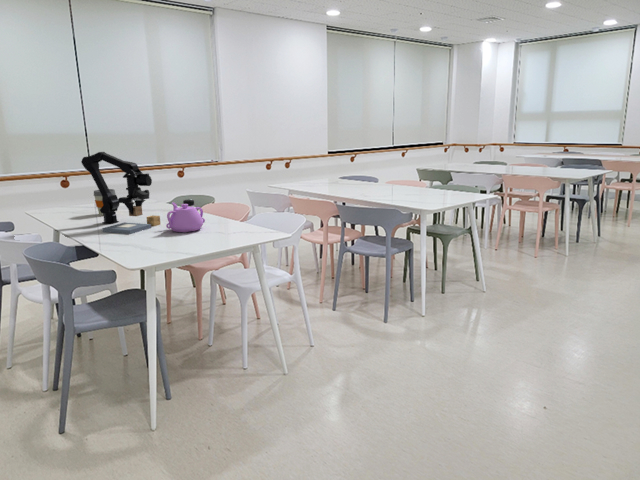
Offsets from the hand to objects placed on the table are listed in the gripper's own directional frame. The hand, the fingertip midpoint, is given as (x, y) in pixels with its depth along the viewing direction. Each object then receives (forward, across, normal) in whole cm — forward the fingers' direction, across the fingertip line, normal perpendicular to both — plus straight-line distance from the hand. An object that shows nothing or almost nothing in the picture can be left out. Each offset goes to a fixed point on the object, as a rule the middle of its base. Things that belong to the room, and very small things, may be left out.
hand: (135, 213), depth 277 cm
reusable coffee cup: (+6, +19, +40) cm, 45 cm away
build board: (+6, -16, -8) cm, 19 cm away
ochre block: (+6, -1, -13) cm, 14 cm away
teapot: (+6, -6, -37) cm, 38 cm away
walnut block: (+1, 0, 0) cm, 1 cm away
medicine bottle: (+6, +17, -24) cm, 30 cm away
